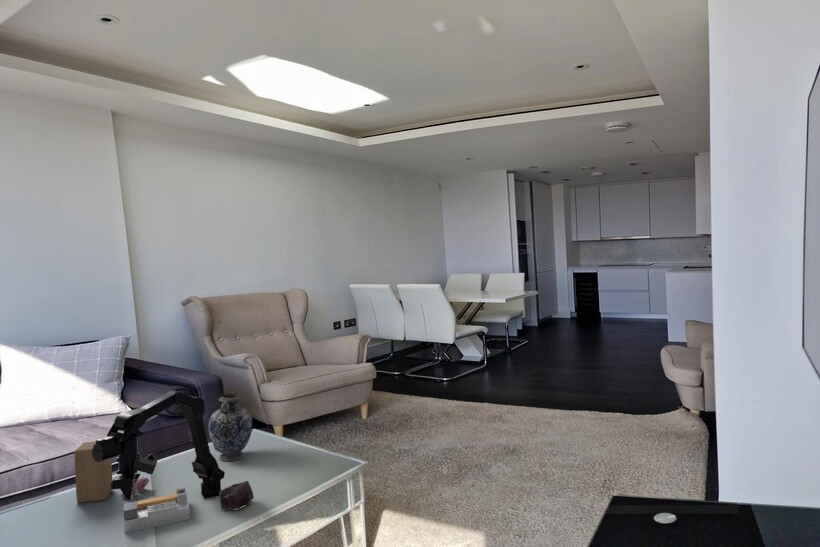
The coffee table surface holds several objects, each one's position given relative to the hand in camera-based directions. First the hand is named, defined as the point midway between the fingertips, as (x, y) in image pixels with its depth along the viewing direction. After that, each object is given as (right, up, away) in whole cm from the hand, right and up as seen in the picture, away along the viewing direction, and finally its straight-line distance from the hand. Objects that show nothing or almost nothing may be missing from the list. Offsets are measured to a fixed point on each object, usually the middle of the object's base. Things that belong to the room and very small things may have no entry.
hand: (129, 499), depth 182 cm
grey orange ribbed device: (+4, -11, +12) cm, 17 cm away
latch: (-2, -7, +5) cm, 9 cm away
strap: (+2, -7, +14) cm, 15 cm away
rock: (+30, -10, +18) cm, 36 cm away
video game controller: (-13, -11, +31) cm, 36 cm away
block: (-28, -11, +29) cm, 42 cm away
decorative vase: (+12, -9, +67) cm, 69 cm away
